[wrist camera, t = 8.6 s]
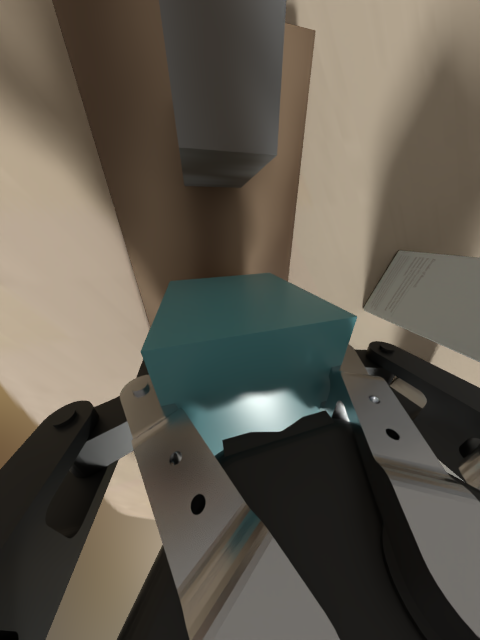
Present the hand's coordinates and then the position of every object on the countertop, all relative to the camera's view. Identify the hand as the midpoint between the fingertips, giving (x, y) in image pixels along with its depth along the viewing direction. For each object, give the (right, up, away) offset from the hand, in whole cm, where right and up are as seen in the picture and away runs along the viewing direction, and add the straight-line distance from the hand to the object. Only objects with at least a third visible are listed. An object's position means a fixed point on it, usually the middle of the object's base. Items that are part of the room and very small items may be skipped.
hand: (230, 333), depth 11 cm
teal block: (0, +1, +1) cm, 2 cm away
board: (-1, +7, +3) cm, 8 cm away
